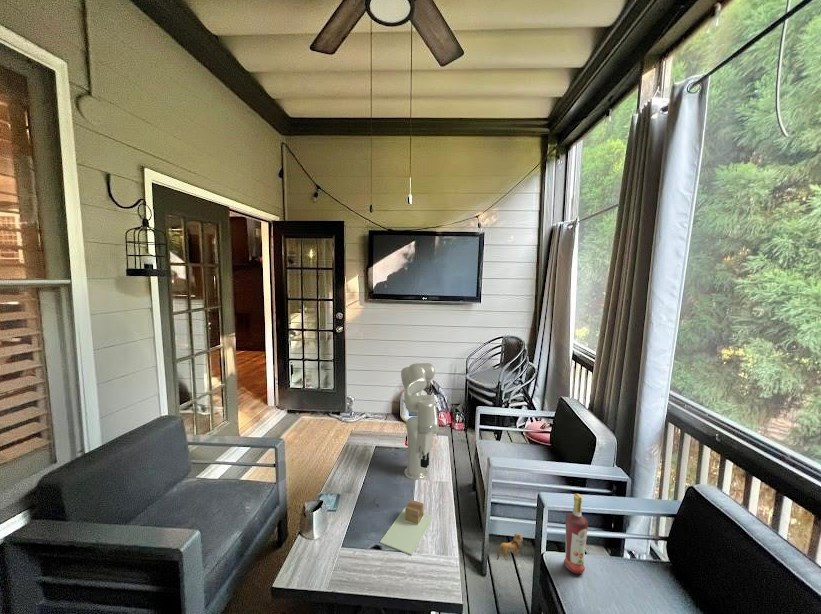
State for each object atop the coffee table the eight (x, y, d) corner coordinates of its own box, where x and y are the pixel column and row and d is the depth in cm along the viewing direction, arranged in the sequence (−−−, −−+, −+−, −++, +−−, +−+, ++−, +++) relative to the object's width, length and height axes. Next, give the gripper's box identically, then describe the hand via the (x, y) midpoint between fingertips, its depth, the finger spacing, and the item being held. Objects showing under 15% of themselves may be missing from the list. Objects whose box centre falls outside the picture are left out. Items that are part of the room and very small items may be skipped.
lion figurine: (516, 546, 134) (517, 529, 133) (525, 554, 130) (525, 536, 129) (493, 557, 129) (493, 538, 128) (500, 565, 125) (501, 547, 124)
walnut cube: (411, 512, 152) (411, 499, 151) (423, 516, 149) (423, 503, 149) (405, 520, 146) (405, 507, 146) (417, 525, 144) (418, 511, 143)
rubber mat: (405, 508, 155) (405, 507, 155) (433, 517, 149) (433, 516, 149) (379, 543, 134) (379, 541, 134) (411, 555, 129) (411, 554, 129)
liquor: (573, 579, 119) (577, 504, 117) (558, 562, 126) (562, 491, 124) (589, 574, 121) (594, 500, 119) (574, 558, 128) (578, 488, 126)
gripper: (424, 419, 163) (423, 456, 165) (410, 432, 149) (410, 472, 151) (438, 422, 160) (438, 459, 162) (426, 436, 146) (425, 476, 148)
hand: (424, 465), depth 156 cm, fingers closed
